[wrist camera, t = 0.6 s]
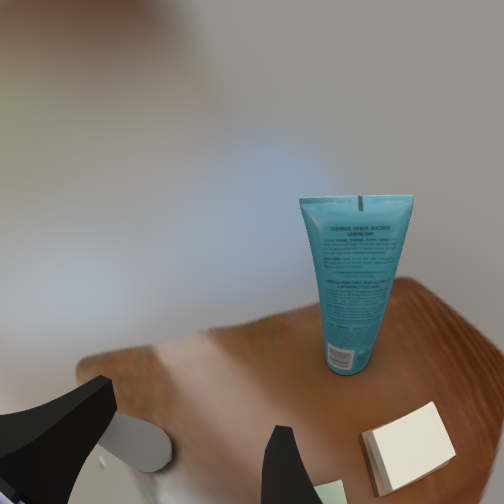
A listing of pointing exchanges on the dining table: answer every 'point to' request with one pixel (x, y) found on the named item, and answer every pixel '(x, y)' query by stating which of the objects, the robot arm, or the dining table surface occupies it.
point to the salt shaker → (137, 443)
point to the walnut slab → (373, 467)
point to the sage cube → (331, 493)
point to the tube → (354, 268)
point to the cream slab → (410, 446)
